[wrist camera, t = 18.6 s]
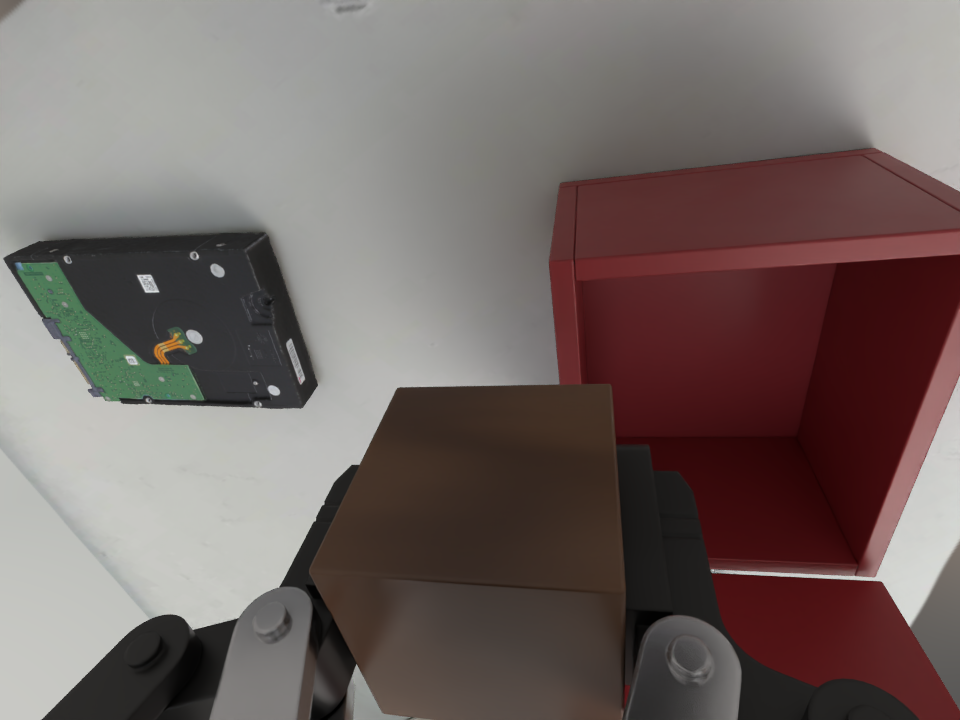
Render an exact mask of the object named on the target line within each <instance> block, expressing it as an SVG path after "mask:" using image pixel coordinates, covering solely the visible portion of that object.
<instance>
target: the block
mask: <svg viewBox="0 0 960 720" xmlns="http://www.w3.org/2000/svg"><path fill="white" fill-rule="evenodd" d="M309 574H310V576H311V578H312V579H313V581H314V583H315V585H316V587H317V589H318V591H319V593H320V595H321V597H322V599H323V601H324V602H325V604H326V606H327V608H328V610H329V612H330V614H331V616H332V618H333V620H334V622H335V623H336V625H337V627H338V629H339V631H340V633H341V635H342V637H343V639H344V641H345V643H346V645H347V646H348V648H349V650H350V652H351V654H352V656H353V658H354V660H355V662H356V664H357V666H358V667H359V669H360V671H361V673H362V675H363V677H364V679H365V681H366V683H367V685H368V687H369V689H370V690H371V692H372V694H373V696H374V698H375V700H376V702H377V704H378V706H379V708H380V710H381V711H382V713H384V714H390V715H398V716H406V717H414V718H422V719H430V720H622V717H623V713H624V709H625V638H626V582H625V568H624V553H623V538H622V524H621V509H620V494H619V480H618V465H617V450H616V436H615V421H614V406H613V392H612V386H611V384H570V385H513V386H456V387H400V388H397V390H396V392H395V394H394V396H393V398H392V400H391V402H390V404H389V406H388V408H387V410H386V412H385V414H384V416H383V418H382V420H381V422H380V424H379V426H378V429H377V431H376V433H375V435H374V437H373V439H372V441H371V443H370V445H369V447H368V449H367V451H366V453H365V455H364V457H363V459H362V461H361V463H360V465H359V468H358V470H357V472H356V474H355V476H354V478H353V480H352V482H351V484H350V486H349V488H348V490H347V492H346V494H345V496H344V498H343V500H342V502H341V504H340V507H339V509H338V511H337V513H336V515H335V517H334V519H333V521H332V523H331V525H330V527H329V529H328V531H327V533H326V535H325V537H324V539H323V541H322V543H321V546H320V548H319V550H318V552H317V554H316V556H315V558H314V560H313V562H312V564H311V566H310V568H309Z"/></svg>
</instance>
